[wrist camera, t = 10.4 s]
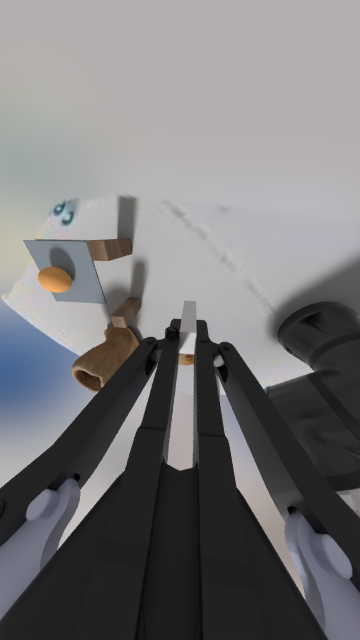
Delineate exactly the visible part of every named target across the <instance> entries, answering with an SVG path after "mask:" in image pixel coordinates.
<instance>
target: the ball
mask: <svg viewBox="0 0 360 640" xmlns="http://www.w3.org/2000/svg"><path fill="white" fill-rule="evenodd" d="M38 280H39V282H40V284H41V285H42V286H43V287H44V288H45V289H47V290H49V291H52V292H57V293H60V292H65V291H67V290H69V289H70V288H71V286H72V279H71V277H70V275H69V274H68V273H67V272H66V271H64V270H63V269H61V268H57V267H46V268H44V269H42V270H41V271H40V272H39V275H38Z"/></svg>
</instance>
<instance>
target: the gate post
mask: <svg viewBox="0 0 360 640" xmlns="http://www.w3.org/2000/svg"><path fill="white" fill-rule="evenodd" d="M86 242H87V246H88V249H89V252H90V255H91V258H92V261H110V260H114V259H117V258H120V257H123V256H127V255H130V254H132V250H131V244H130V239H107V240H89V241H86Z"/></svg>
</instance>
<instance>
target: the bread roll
mask: <svg viewBox="0 0 360 640" xmlns="http://www.w3.org/2000/svg"><path fill="white" fill-rule="evenodd" d="M193 363H194V354H182V353H179V363H178V364H181V365H191V364H193Z"/></svg>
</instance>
